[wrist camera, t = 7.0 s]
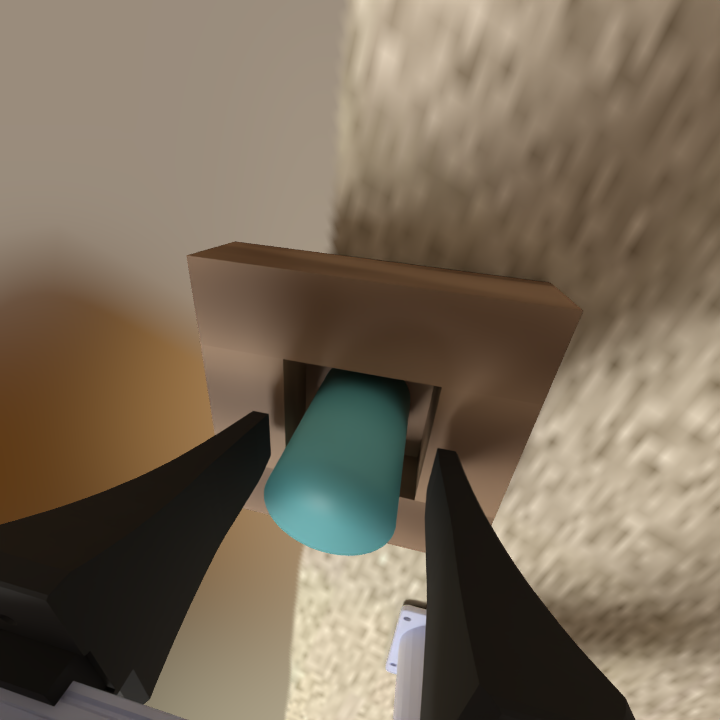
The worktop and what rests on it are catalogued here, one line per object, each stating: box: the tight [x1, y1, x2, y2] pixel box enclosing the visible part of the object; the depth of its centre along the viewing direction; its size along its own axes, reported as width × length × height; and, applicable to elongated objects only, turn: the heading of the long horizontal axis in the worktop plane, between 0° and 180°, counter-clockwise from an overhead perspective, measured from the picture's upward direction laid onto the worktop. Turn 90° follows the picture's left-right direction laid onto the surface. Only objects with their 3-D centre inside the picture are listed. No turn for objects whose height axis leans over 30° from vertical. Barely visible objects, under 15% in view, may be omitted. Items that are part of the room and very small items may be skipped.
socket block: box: [187, 242, 583, 553], centre depth 14 cm, size 12×12×3 cm
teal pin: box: [264, 368, 410, 556], centre depth 12 cm, size 4×4×6 cm
